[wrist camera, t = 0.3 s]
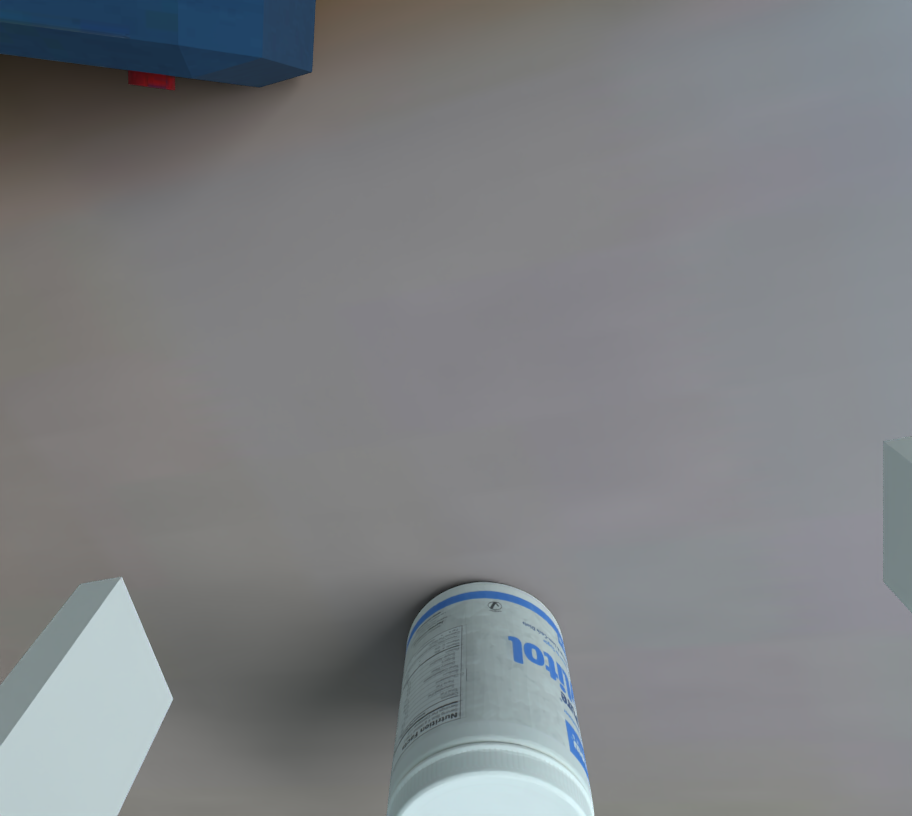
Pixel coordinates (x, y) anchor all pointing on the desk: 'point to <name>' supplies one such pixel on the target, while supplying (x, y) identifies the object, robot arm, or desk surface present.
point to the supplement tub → (487, 711)
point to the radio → (167, 37)
